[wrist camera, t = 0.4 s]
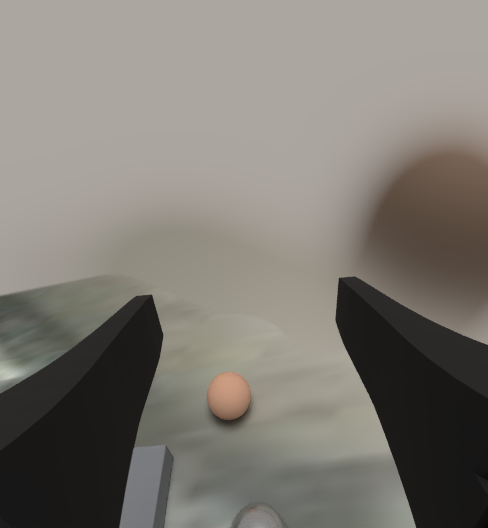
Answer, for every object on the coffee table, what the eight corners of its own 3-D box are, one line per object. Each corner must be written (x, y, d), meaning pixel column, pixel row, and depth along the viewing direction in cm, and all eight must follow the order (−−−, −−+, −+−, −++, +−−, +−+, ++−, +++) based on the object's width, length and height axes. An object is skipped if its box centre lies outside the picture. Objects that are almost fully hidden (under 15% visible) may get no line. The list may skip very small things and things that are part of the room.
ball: (253, 426, 26) (250, 403, 24) (209, 429, 26) (201, 407, 24) (251, 384, 29) (247, 361, 27) (211, 387, 30) (205, 365, 27)
